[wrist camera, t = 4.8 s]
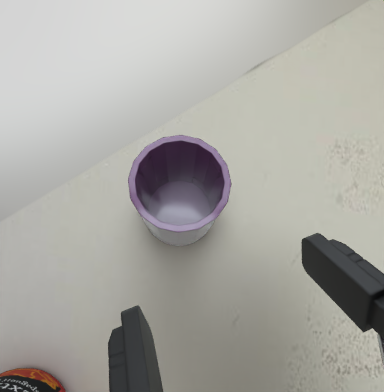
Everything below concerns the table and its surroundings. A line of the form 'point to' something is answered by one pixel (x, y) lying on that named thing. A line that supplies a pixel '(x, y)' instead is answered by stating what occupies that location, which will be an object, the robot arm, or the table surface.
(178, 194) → the cup
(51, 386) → the canned food
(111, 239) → the table surface
